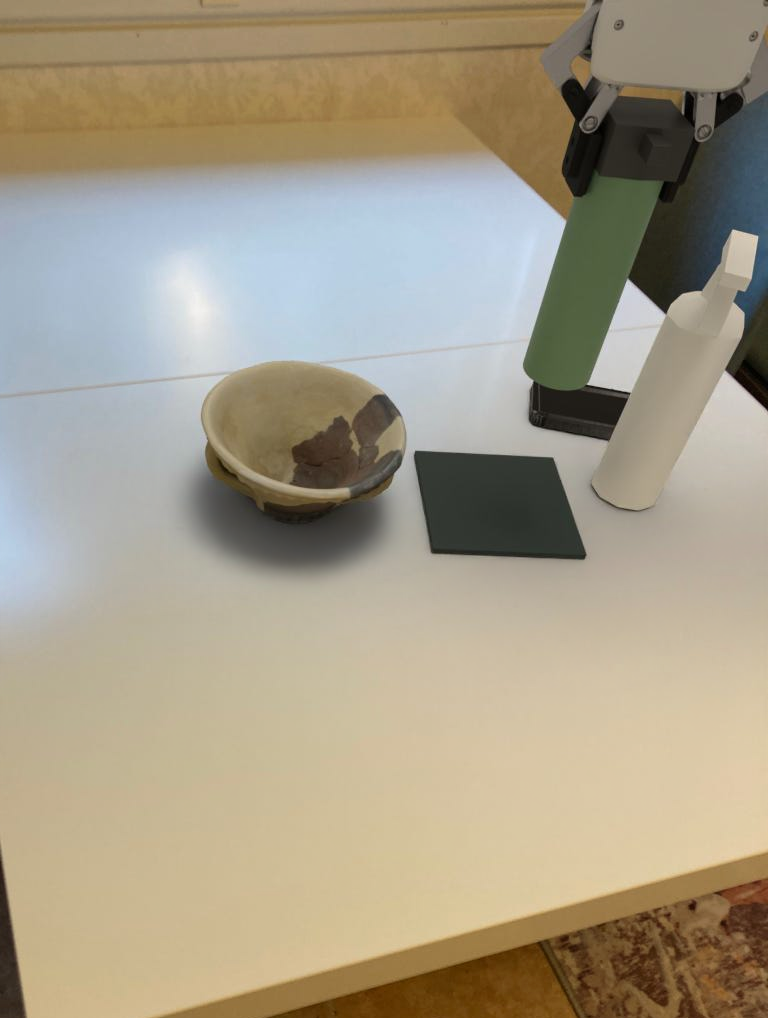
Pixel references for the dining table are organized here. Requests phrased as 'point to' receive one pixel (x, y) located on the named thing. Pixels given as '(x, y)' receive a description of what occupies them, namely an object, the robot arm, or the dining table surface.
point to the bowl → (302, 438)
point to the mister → (605, 238)
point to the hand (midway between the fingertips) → (618, 188)
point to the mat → (496, 505)
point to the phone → (578, 409)
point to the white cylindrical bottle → (676, 382)
